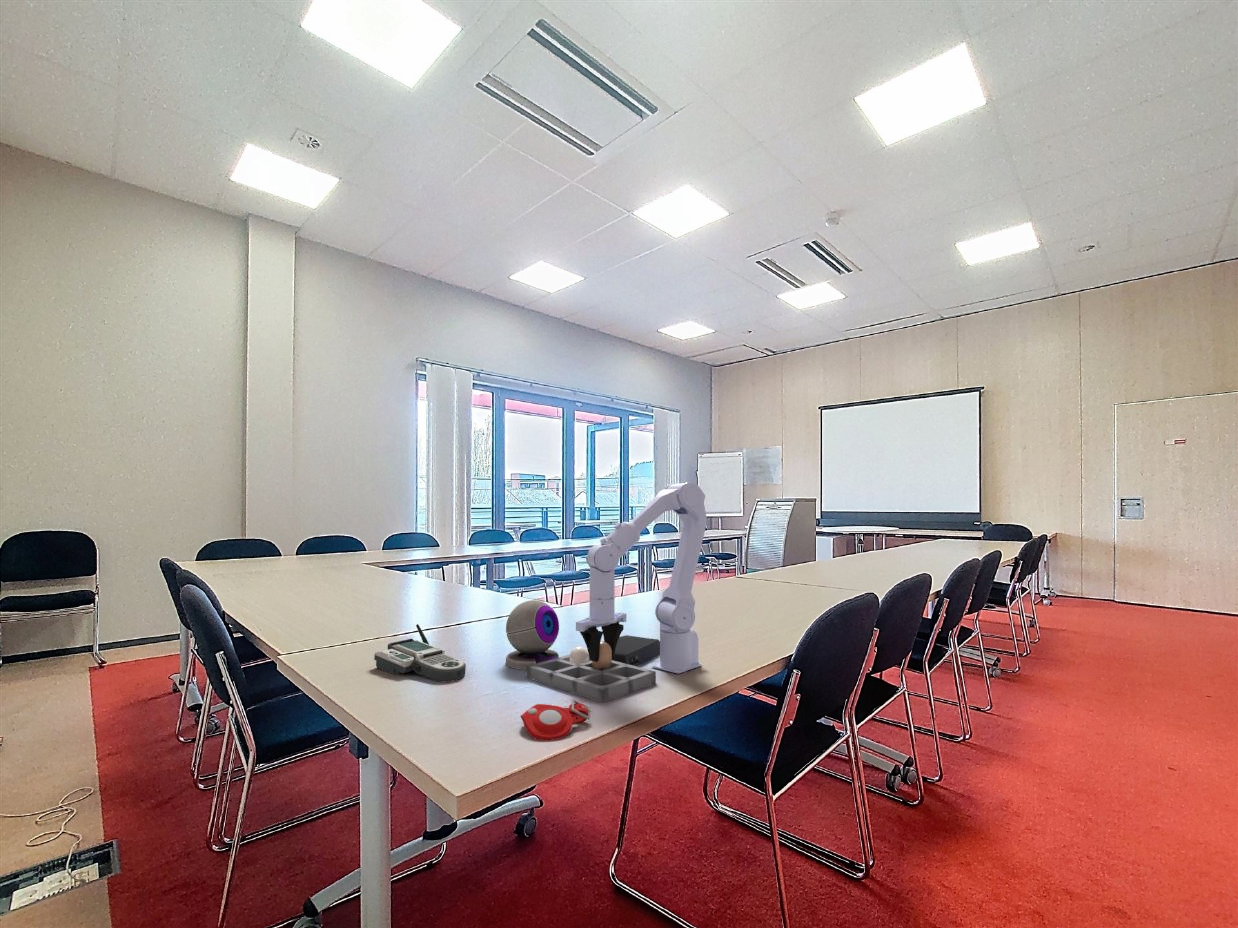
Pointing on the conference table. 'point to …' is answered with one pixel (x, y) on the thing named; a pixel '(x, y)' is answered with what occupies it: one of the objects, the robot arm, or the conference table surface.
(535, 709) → the tracker holder
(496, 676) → the conference table surface
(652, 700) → the conference table surface
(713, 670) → the conference table surface
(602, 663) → the tan bulbous object
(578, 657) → the cream egg
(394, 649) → the communication device
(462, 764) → the conference table surface
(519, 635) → the webcam
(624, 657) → the external hard drive
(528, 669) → the egg crate
